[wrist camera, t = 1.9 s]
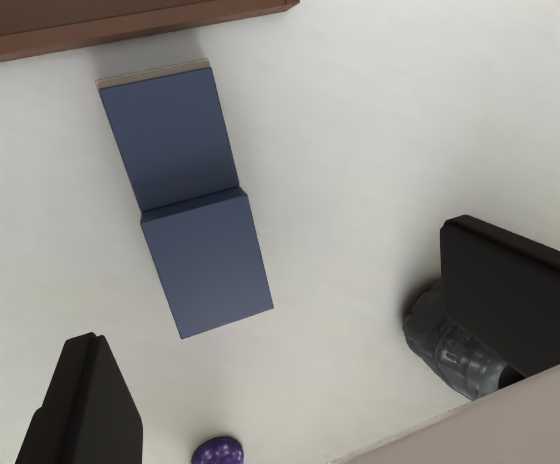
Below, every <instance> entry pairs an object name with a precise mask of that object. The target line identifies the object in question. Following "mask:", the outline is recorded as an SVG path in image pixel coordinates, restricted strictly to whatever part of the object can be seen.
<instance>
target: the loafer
mask: <svg viewBox="0 0 560 464" xmlns="http://www.w3.org/2000/svg"><path fill="white" fill-rule="evenodd" d="M411 310H412V313H411V315H410V316H407V317H406V319H405V321H404V324H403V331H404V333H405V337H406V341H407V344H408V346H409V347H410V349H411V350H412V351H413V352H414V353H416V354H417V355H418V356H419V357H421V358H422V359H423V360H424V362H425V363H426V364H427V365H428V366H429V367H430V368H431V369H432V370H433V371H434V372H435V373H436V374H437V375H438V376H439V377H440V378H441V379H442V380H443V381H444V382H445V383H446V384H447V385H448V386H449V387H451V388H452V389H453V390H455V391H457V392H458V393H460V394H462V395H464V396H465V397H467V398H468V399H470V400H472V401H474V400H477V399H479V398H481V397H484V396H486V395H488V394H491V393H493V392H495V391H498V390H500V389H502V388H505V387H507V386H510V385H512V384H514V383H517V382H519V381H522V380H524V379H526V377H524V376H523V375H522V374H520V373H519V372H518V371H516V370H515V369H514V368H513V367H511V366H510V365H509V364H507V363H506V362H505V361H504V360H502V359H501V358H500V357H498V356H497V355H496V354H494V353H493V352H492V351H491V350H489V349H488V348H487V347H485V346H484V345H483V344H482V343H480V342H479V341H478V340H476V339H475V338H474V337H473V336H471V335H470V334H469V333H467V332H466V331H465V330H463V329H462V328H461V327H460V326H458V325H457V324H456V323H454V322H453V321H452V320H451V319H449V318H448V317H447V316H446V314H445V313H444V311H443V308H442V287H441V280H439V281H437V282H436V283H435V284H433V285H432V286H431V290H430V291H429V292H424V293H423V294H422V295H421V296H420V297H419V299H418V300H417V301H416V303H415V304H414V306H413V307H412V309H411Z"/></svg>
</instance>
